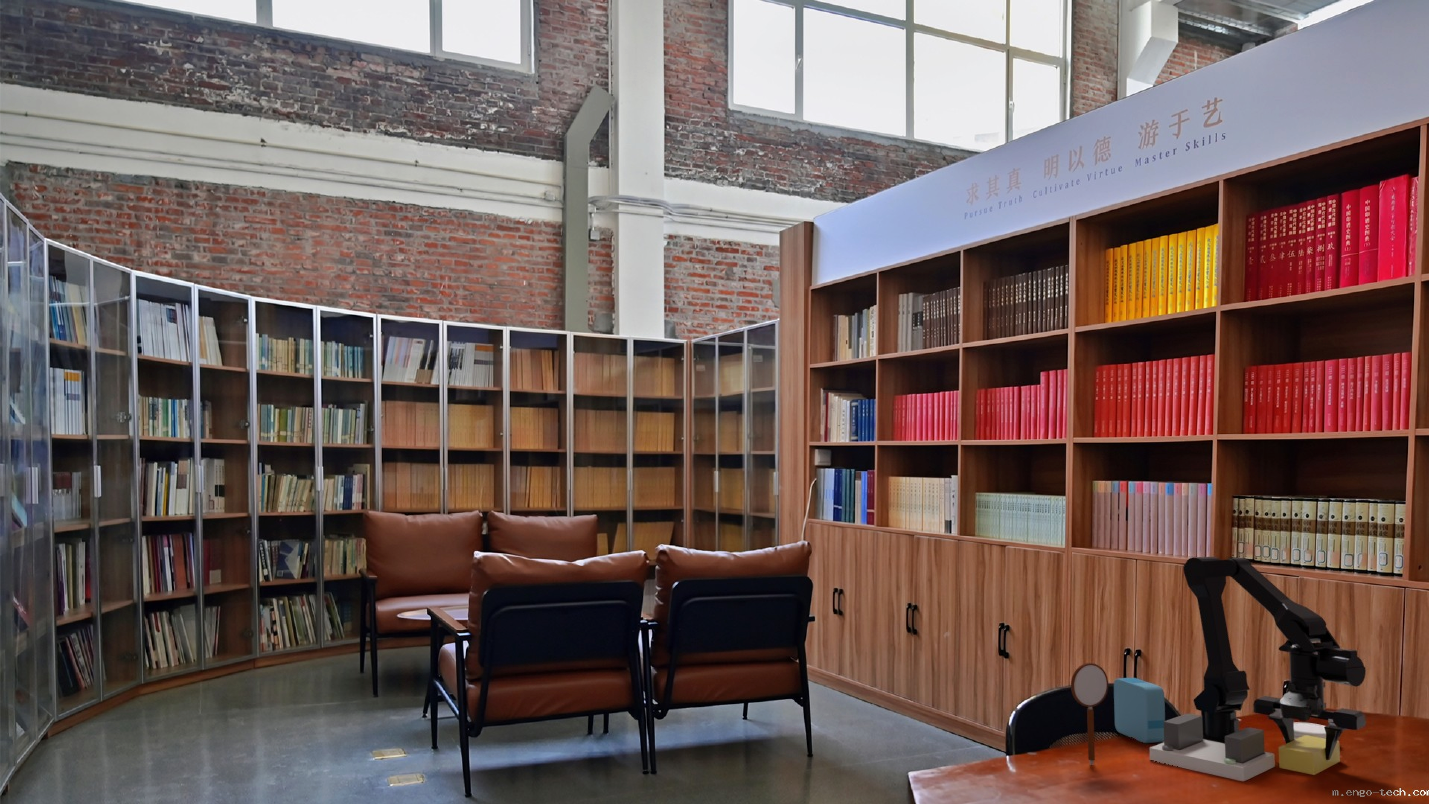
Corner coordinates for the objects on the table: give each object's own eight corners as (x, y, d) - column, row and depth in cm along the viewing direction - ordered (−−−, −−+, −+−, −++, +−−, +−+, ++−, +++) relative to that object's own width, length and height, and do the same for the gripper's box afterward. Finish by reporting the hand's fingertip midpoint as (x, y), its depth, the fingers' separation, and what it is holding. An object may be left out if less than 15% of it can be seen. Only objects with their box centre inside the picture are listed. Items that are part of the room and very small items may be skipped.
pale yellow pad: (1279, 767, 196) (1278, 747, 196) (1306, 754, 205) (1305, 735, 205) (1314, 774, 191) (1313, 753, 191) (1340, 761, 200) (1339, 741, 200)
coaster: (1286, 735, 221) (1285, 719, 221) (1339, 742, 215) (1338, 726, 215) (1281, 745, 213) (1280, 728, 213) (1335, 753, 207) (1335, 735, 207)
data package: (1166, 744, 213) (1164, 687, 214) (1147, 745, 212) (1145, 688, 213) (1132, 730, 225) (1130, 676, 225) (1114, 731, 224) (1113, 677, 225)
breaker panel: (1149, 760, 200) (1149, 744, 200) (1183, 747, 210) (1182, 732, 210) (1243, 781, 187) (1242, 764, 187) (1274, 766, 196) (1274, 750, 197)
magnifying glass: (1106, 761, 199) (1104, 661, 201) (1112, 764, 198) (1109, 662, 199) (1070, 765, 197) (1068, 663, 198) (1076, 768, 195) (1073, 664, 196)
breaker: (1164, 748, 201) (1163, 721, 202) (1188, 738, 208) (1187, 713, 209) (1179, 751, 199) (1178, 724, 199) (1203, 741, 206) (1202, 715, 207)
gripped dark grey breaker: (1225, 764, 192) (1224, 736, 193) (1248, 754, 199) (1247, 727, 200) (1241, 767, 190) (1240, 739, 190) (1264, 757, 197) (1263, 730, 197)
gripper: (1241, 674, 201) (1243, 753, 200) (1345, 690, 187) (1348, 774, 186) (1263, 668, 208) (1265, 743, 207) (1364, 682, 194) (1368, 763, 193)
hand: (1309, 756), depth 198 cm, fingers closed on pale yellow pad, 6 cm apart
